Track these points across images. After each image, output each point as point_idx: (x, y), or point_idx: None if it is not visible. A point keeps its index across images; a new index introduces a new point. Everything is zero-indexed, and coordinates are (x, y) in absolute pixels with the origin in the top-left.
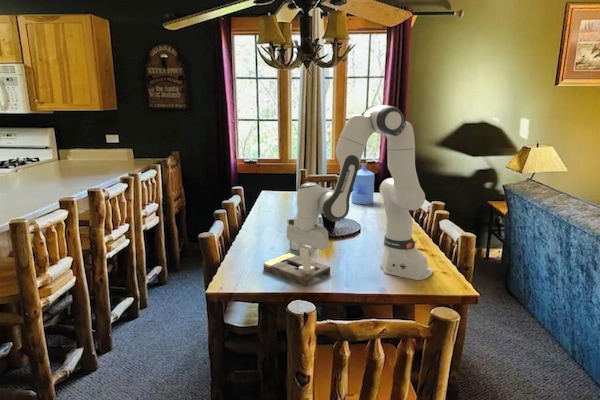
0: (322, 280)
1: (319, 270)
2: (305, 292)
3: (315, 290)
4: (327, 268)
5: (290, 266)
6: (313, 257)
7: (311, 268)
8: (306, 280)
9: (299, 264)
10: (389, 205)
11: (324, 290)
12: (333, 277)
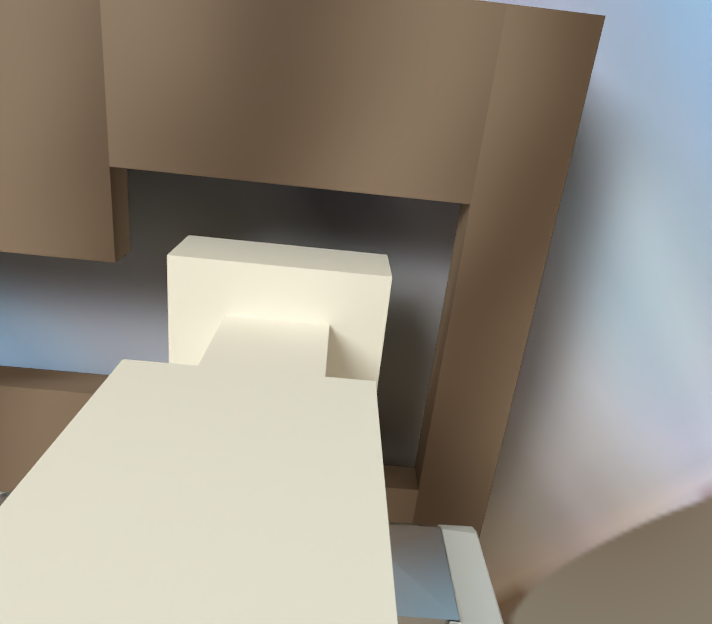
0: (540, 287)
1: (498, 293)
2: (514, 601)
3: (584, 526)
4: (579, 116)
5: (21, 426)
6: (374, 395)
7: (372, 360)
8: None
9: (40, 251)
10: None
11: (673, 480)
12: (642, 104)
